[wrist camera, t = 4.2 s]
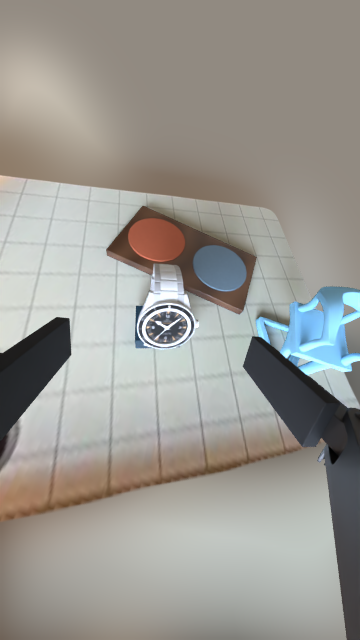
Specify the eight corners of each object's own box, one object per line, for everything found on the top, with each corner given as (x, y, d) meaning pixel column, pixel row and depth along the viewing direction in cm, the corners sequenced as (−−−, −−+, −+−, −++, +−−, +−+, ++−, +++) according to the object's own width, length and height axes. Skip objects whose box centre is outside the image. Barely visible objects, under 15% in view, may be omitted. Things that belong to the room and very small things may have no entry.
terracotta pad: (117, 245, 27) (117, 244, 27) (144, 212, 31) (144, 210, 31) (172, 270, 27) (172, 269, 27) (192, 234, 31) (192, 232, 31)
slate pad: (184, 276, 27) (185, 274, 27) (202, 238, 31) (203, 237, 31) (239, 300, 28) (240, 299, 27) (250, 260, 32) (251, 259, 31)
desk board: (107, 255, 28) (105, 249, 27) (142, 211, 33) (142, 205, 32) (239, 314, 28) (243, 311, 27) (253, 261, 33) (256, 256, 32)
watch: (135, 364, 22) (131, 332, 12) (136, 305, 25) (134, 243, 15) (180, 362, 23) (210, 332, 13) (176, 306, 26) (197, 249, 17)
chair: (251, 370, 25) (338, 346, 14) (256, 318, 28) (326, 266, 18) (303, 387, 25) (425, 375, 14) (301, 333, 29) (396, 292, 18)
